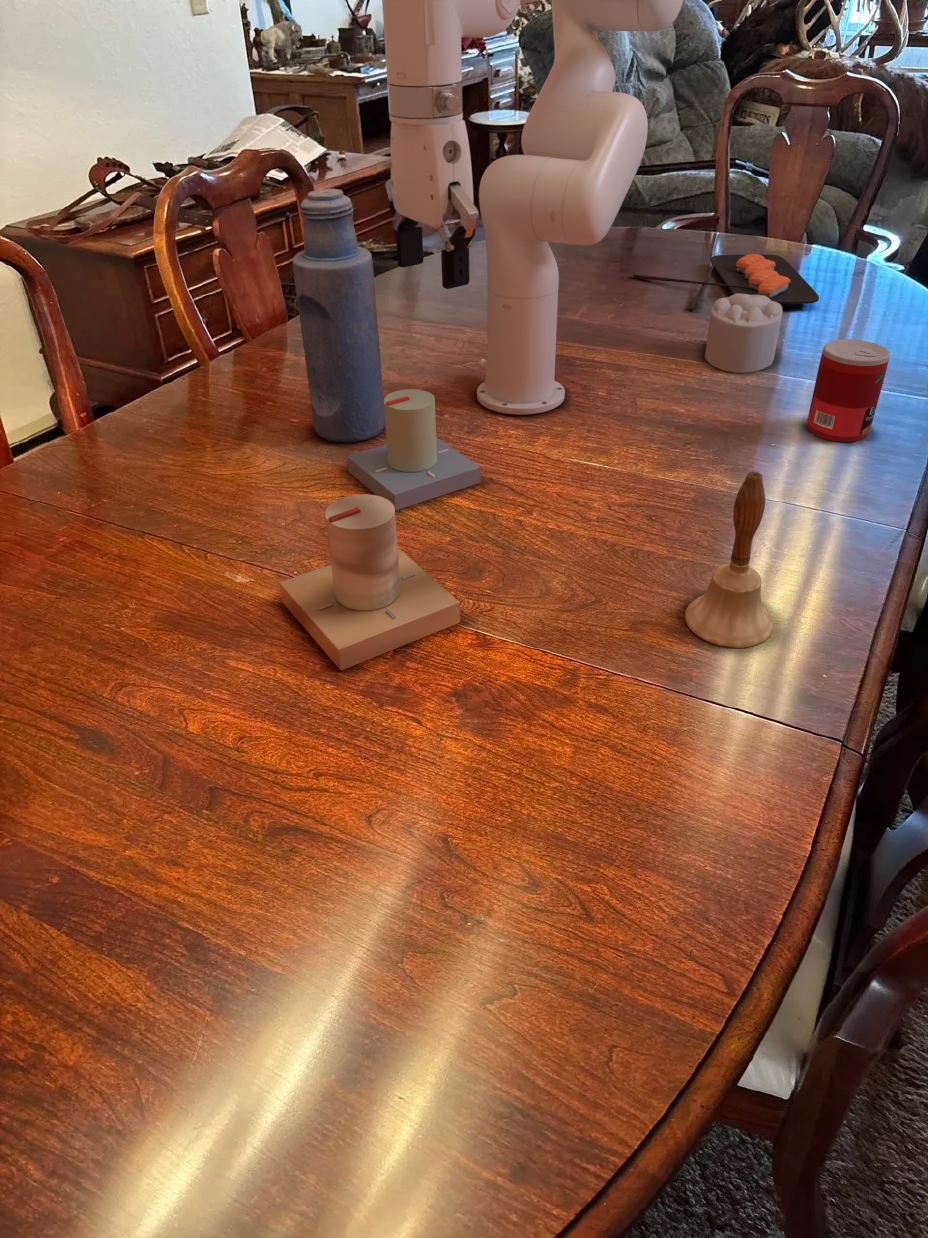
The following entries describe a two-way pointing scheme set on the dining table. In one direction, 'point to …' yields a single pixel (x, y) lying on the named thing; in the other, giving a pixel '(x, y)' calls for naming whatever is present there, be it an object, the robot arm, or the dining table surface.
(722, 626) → the hand bell
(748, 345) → the lumpy-topped squat cylinder
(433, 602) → the birch turntable
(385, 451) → the blue-grey dial base
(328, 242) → the bottle
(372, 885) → the dining table surface
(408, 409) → the green dial knob
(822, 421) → the canned food
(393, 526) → the beige banded cylinder
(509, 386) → the robot arm
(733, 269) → the sushi plate
